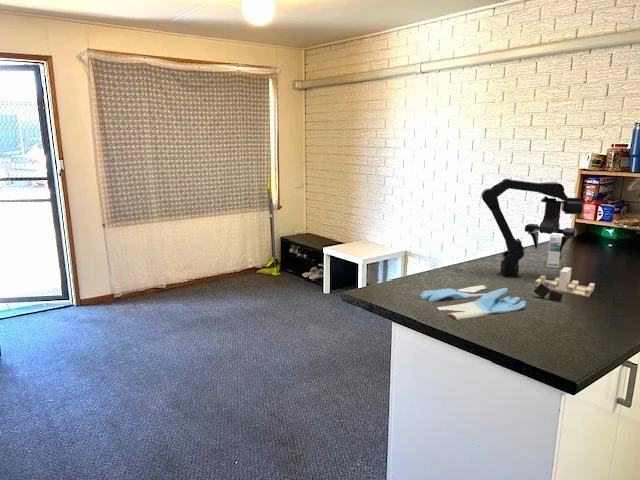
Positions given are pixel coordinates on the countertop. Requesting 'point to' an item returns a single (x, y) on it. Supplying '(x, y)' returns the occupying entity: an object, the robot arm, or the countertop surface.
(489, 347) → the countertop surface
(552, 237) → the syrup box
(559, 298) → the black joined square panels
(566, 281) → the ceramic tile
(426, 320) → the countertop surface
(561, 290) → the slotted rack
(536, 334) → the countertop surface
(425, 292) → the rubber gloves
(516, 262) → the robot arm
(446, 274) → the countertop surface
